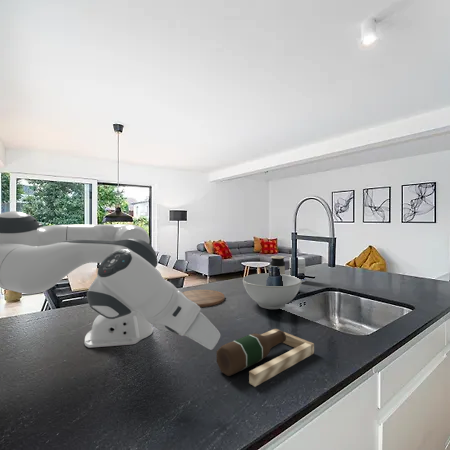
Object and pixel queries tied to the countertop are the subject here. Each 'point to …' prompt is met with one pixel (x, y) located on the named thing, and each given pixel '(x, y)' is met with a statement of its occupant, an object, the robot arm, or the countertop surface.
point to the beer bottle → (246, 351)
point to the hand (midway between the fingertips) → (203, 339)
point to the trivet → (205, 297)
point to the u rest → (282, 359)
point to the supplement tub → (300, 266)
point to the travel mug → (278, 263)
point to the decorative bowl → (271, 290)
